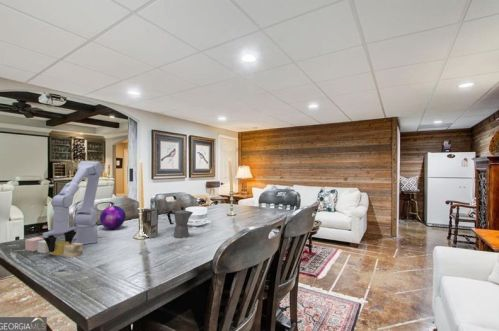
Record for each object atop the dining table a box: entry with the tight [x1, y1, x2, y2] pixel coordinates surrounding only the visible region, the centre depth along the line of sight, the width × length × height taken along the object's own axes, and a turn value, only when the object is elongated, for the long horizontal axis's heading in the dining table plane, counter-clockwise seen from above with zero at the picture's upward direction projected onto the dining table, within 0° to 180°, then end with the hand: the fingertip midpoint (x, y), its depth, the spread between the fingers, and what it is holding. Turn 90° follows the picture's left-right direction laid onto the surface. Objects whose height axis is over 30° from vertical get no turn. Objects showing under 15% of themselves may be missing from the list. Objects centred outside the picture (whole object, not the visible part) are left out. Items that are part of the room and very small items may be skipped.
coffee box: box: [138, 208, 159, 239], centre depth 151 cm, size 9×6×16 cm
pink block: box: [24, 236, 44, 252], centre depth 122 cm, size 5×5×5 cm
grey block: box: [36, 239, 58, 254], centre depth 120 cm, size 5×5×5 cm
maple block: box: [63, 242, 84, 259], centre depth 116 cm, size 5×5×5 cm
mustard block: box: [49, 240, 69, 256], centre depth 118 cm, size 5×5×5 cm
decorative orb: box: [99, 205, 127, 230], centre depth 166 cm, size 15×15×15 cm
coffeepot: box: [166, 206, 194, 239], centre depth 153 cm, size 15×9×18 cm, turn 103°
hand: (59, 249), depth 118 cm, fingers open, 7 cm apart
